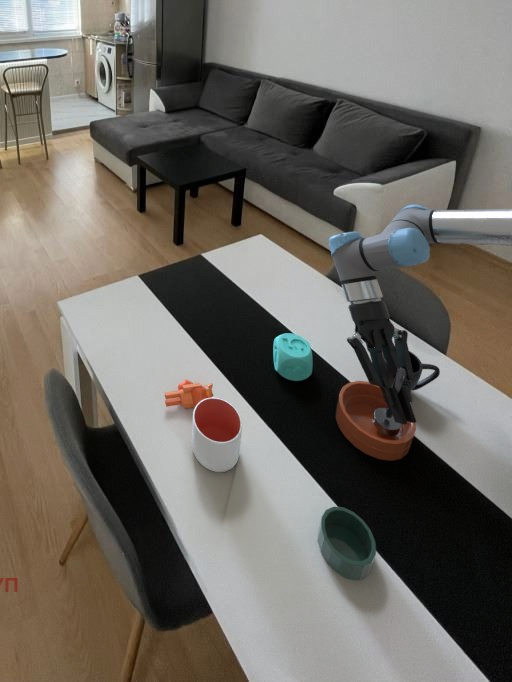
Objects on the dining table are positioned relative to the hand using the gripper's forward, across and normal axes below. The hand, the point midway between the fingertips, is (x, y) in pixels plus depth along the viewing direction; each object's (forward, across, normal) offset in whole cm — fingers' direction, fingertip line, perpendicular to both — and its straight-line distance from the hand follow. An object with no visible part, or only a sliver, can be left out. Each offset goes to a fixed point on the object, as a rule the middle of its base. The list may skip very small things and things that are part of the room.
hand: (405, 421), depth 88 cm
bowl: (+3, +2, -10) cm, 11 cm away
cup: (+2, +38, -11) cm, 40 cm away
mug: (-2, -12, -15) cm, 20 cm away
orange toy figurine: (-7, +40, -20) cm, 45 cm away
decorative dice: (-10, +12, -23) cm, 27 cm away
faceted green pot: (+16, +22, +4) cm, 27 cm away
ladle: (+2, 0, -7) cm, 8 cm away
